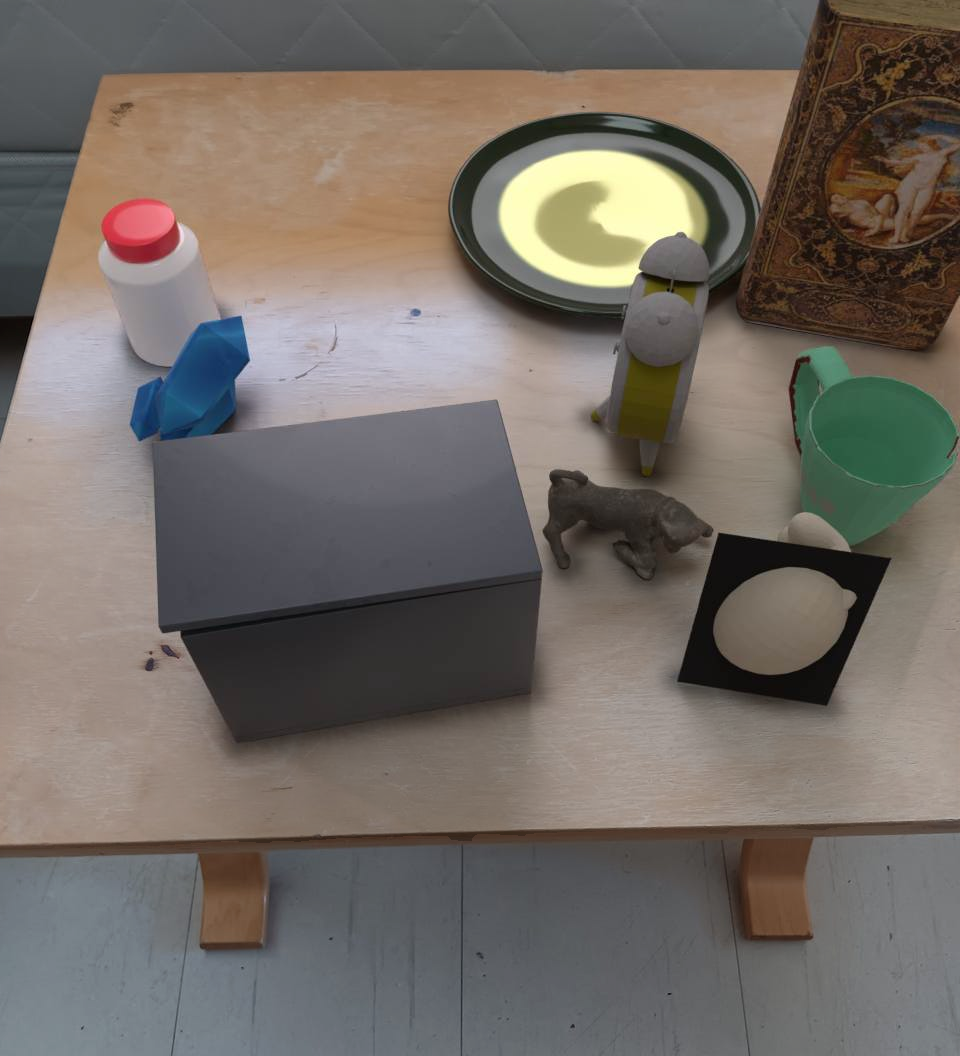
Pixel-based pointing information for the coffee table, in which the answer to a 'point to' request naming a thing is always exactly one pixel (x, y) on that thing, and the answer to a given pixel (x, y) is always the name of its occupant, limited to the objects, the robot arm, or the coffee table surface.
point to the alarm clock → (658, 346)
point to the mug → (865, 444)
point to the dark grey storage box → (369, 659)
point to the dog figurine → (620, 518)
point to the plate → (597, 207)
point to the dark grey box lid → (337, 515)
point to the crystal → (194, 385)
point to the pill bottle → (155, 278)
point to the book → (865, 180)
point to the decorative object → (781, 612)
